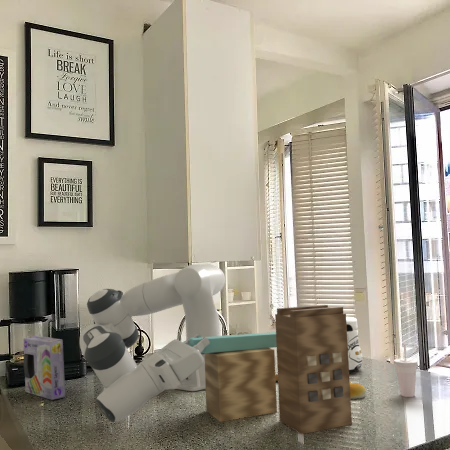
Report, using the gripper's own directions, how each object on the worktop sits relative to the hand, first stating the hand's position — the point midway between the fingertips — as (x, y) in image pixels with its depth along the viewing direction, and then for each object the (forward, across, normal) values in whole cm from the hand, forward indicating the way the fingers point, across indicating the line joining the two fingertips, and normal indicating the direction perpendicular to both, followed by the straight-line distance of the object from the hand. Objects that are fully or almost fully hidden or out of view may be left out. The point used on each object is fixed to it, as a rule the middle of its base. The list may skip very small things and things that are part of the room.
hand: (204, 338), depth 123 cm
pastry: (+22, -22, -36) cm, 48 cm away
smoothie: (+40, +9, -46) cm, 62 cm away
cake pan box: (-43, -45, +2) cm, 63 cm away
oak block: (-2, 0, -22) cm, 22 cm away
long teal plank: (+6, 0, -8) cm, 10 cm away
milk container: (+41, -26, -47) cm, 67 cm away
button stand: (+9, +16, -28) cm, 34 cm away
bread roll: (+28, +1, -39) cm, 48 cm away
